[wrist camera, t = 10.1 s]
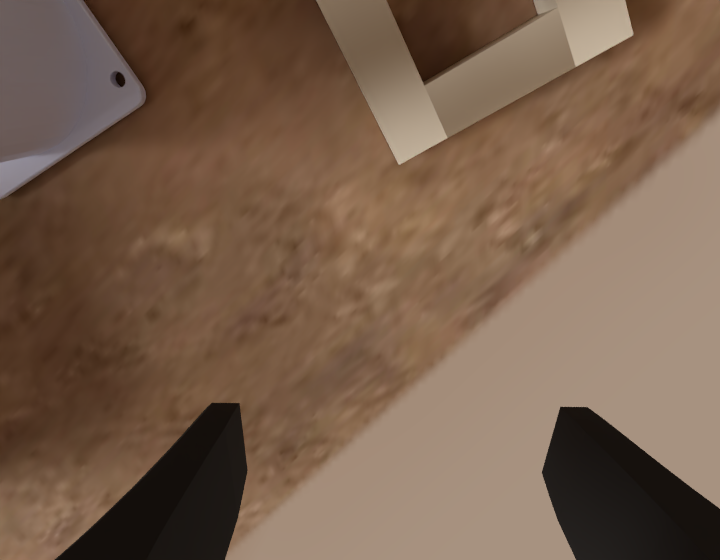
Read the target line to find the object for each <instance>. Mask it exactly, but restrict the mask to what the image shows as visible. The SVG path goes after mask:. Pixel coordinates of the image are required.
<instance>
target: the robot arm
mask: <svg viewBox="0 0 720 560" xmlns="http://www.w3.org/2000/svg"><path fill="white" fill-rule="evenodd" d="M118 72H120V73H122V74H123V75H124V78H125V85H124V86H123V87H121V86H120V85H119V84H117V81H116V74H117V73H118ZM145 100H146V91H145V89H144V87H143V85H142V84H141V82H140V81H139V79H138V78H137V77H136V75H135V74H134V72H133V71H132V69H131V68H130V67H129V65H128V64H127V62H126V61H125V59H124V58H123V57H122V55H121V54H120V52H119V51H118V49H117V48H116V47H115V45H114V44H113V42H112V41H111V39H110V38H109V37H108V35H107V34H106V32H105V31H104V29H103V28H102V27H101V25H100V24H99V22H98V21H97V19H96V18H95V17H94V15H93V14H92V12H91V11H90V9H89V8H88V6H87V5H86V4H85V2H84V1H83V0H0V199H3V198H5V197H7V196H8V195H10V194H11V193H13V192H14V191H16V190H17V189H19V188H20V187H22V186H23V185H25V184H26V183H28V182H29V181H31V180H32V179H34V178H35V177H37V176H38V175H40V174H41V173H43V172H44V171H45V170H47V169H48V168H50V167H51V166H53V165H54V164H56V163H57V162H59V161H60V160H62V159H63V158H65V157H66V156H68V155H69V154H71V153H72V152H74V151H75V150H77V149H78V148H80V147H81V146H83V145H84V144H86V143H87V142H89V141H90V140H92V139H93V138H95V137H96V136H98V135H99V134H100V133H102V132H103V131H105V130H106V129H108V128H109V127H111V126H112V125H114V124H115V123H117V122H118V121H120V120H121V119H123V118H124V117H126V116H127V115H129V114H130V113H132V112H133V111H135V110H136V109H138V108H139V107H141V106H142V105H143V104H144V103H145ZM542 474H543V477H544V480H545V484H546V487H547V490H548V493H549V496H550V499H551V502H552V505H553V507H554V511H555V513H556V516H557V519H558V521H559V524H560V526H561V528H562V530H563V532H564V534H565V537H566V539H567V541H568V543H569V545H570V547H571V549H572V552H573V554H574V556H575V558H576V560H720V509H719V508H718V507H717V506H715V505H714V504H713V503H711V502H710V501H709V500H707V499H706V498H704V497H703V496H702V495H700V494H699V493H698V492H696V491H695V490H694V489H692V488H691V487H690V486H688V485H687V484H686V483H684V482H683V481H682V480H681V479H679V478H678V477H677V476H675V475H674V474H673V473H671V472H670V471H669V470H668V469H666V468H665V467H664V466H662V465H661V464H660V463H659V462H657V461H656V460H655V459H653V458H652V457H651V456H650V455H648V454H647V453H646V452H645V451H643V450H642V449H640V448H639V447H638V446H637V445H636V444H634V443H633V442H632V441H631V440H629V439H628V438H627V437H626V436H624V435H623V434H622V433H621V432H619V431H618V430H617V429H615V428H614V427H613V426H612V425H610V424H609V423H608V422H606V421H605V420H604V419H603V418H601V417H600V416H599V415H597V414H596V413H594V412H593V411H592V410H590V409H589V408H588V407H560V410H559V414H558V417H557V421H556V424H555V428H554V432H553V435H552V439H551V442H550V446H549V449H548V453H547V456H546V460H545V463H544V467H543V471H542ZM246 475H247V463H246V454H245V446H244V438H243V430H242V421H241V413H240V405H239V403H211V404H210V405H209V406H208V407H207V408H206V409H205V410H204V411H203V412H202V413H201V415H200V416H199V417H198V418H197V419H196V420H195V421H194V422H193V424H192V425H191V426H190V427H189V428H188V429H187V430H186V431H185V432H184V434H183V435H182V436H181V437H180V438H179V439H178V440H177V441H176V442H175V443H174V445H173V446H172V447H171V448H170V449H169V450H168V451H167V452H166V453H165V454H164V455H163V456H162V457H161V458H160V460H159V461H158V462H157V463H156V464H155V465H154V466H153V467H152V468H151V469H150V470H149V471H148V472H147V473H146V474H145V475H144V476H143V477H142V478H141V479H140V480H139V481H138V482H137V483H136V484H135V486H134V487H133V488H132V489H131V490H129V491H128V492H127V493H126V494H125V495H124V496H123V497H122V498H121V499H120V500H119V501H118V502H117V503H116V504H115V505H114V506H113V507H112V508H111V509H110V510H109V511H108V512H107V513H106V514H105V515H104V516H103V517H101V518H100V519H99V520H98V521H97V522H96V523H95V524H94V525H93V526H92V527H91V528H90V529H89V530H88V531H87V532H85V533H84V534H83V535H82V536H81V537H80V538H79V539H78V540H77V541H76V542H74V543H73V544H72V545H71V546H70V547H69V548H68V549H66V550H65V551H64V552H63V553H62V554H61V555H60V556H58V557H57V558H56V559H55V560H225V557H226V554H227V551H228V548H229V544H230V541H231V538H232V535H233V532H234V528H235V525H236V522H237V518H238V514H239V510H240V505H241V500H242V495H243V490H244V485H245V480H246Z"/></svg>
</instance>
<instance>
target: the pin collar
mask: <svg viewBox="0 0 720 560" xmlns="http://www.w3.org/2000/svg"><path fill="white" fill-rule="evenodd" d="M316 1H317V3H318V5H319V7H320V9H321V11H322V13H323V15H324V17H325V19H326V21H327V23H328V25H329V27H330V29H331V31H332V33H333V35H334V37H335V39H336V41H337V43H338V45H339V47H340V49H341V51H342V53H343V55H344V57H345V59H346V61H347V63H348V65H349V67H350V69H351V71H352V73H353V75H354V77H355V79H356V81H357V83H358V85H359V87H360V89H361V91H362V93H363V95H364V97H365V99H366V101H367V103H368V105H369V107H370V109H371V111H372V113H373V115H374V117H375V119H376V121H377V123H378V125H379V127H380V129H381V131H382V133H383V135H384V137H385V138H386V140H387V142H388V144H389V146H390V148H391V150H392V152H393V154H394V156H395V158H396V160H397V162H398V164H399V165H400V164H402V163H403V162H405V161H407V160H409V159H411V158H413V157H414V156H416V155H418V154H420V153H422V152H423V151H425V150H427V149H429V148H431V147H432V146H434V145H436V144H438V143H440V142H441V141H443V140H445V139H447V138H449V137H450V136H452V135H454V134H456V133H458V132H459V131H461V130H463V129H465V128H467V127H468V126H470V125H472V124H474V123H476V122H478V121H479V120H481V119H483V118H485V117H487V116H488V115H490V114H492V113H494V112H496V111H497V110H499V109H501V108H503V107H505V106H506V105H508V104H510V103H512V102H514V101H515V100H517V99H519V98H521V97H523V96H524V95H526V94H528V93H530V92H532V91H533V90H535V89H537V88H539V87H541V86H543V85H544V84H546V83H548V82H550V81H552V80H553V79H555V78H557V77H559V76H561V75H562V74H564V73H566V72H568V71H570V70H571V69H573V68H575V67H577V66H579V65H580V64H582V63H584V62H586V61H588V60H589V59H591V58H593V57H595V56H597V55H598V54H600V53H602V52H604V51H606V50H608V49H609V48H611V47H613V46H615V45H617V44H618V43H620V42H622V41H624V40H626V39H627V38H629V37H631V36H633V35H634V34H633V30H632V26H631V22H630V18H629V14H628V10H627V6H626V1H625V0H533V1H534V4H535V7H536V10H537V14H538V15H537V16H535V17H533V18H532V19H530V20H528V21H527V22H525V23H523V24H521V25H520V26H518V27H516V28H515V29H513V30H511V31H510V32H508V33H506V34H504V35H503V36H501V37H499V38H498V39H496V40H494V41H493V42H491V43H489V44H487V45H486V46H484V47H482V48H481V49H479V50H477V51H476V52H474V53H472V54H471V55H469V56H467V57H465V58H464V59H462V60H460V61H459V62H457V63H455V64H454V65H452V66H450V67H448V68H447V69H445V70H443V71H442V72H440V73H438V74H437V75H435V76H433V77H431V78H430V79H428V80H426V81H425V82H422V79H421V77H420V75H419V73H418V70H417V68H416V66H415V64H414V61H413V59H412V57H411V55H410V52H409V50H408V48H407V46H406V43H405V41H404V39H403V37H402V34H401V32H400V30H399V28H398V25H397V23H396V21H395V18H394V16H393V14H392V12H391V9H390V7H389V5H388V3H387V0H316Z"/></svg>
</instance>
